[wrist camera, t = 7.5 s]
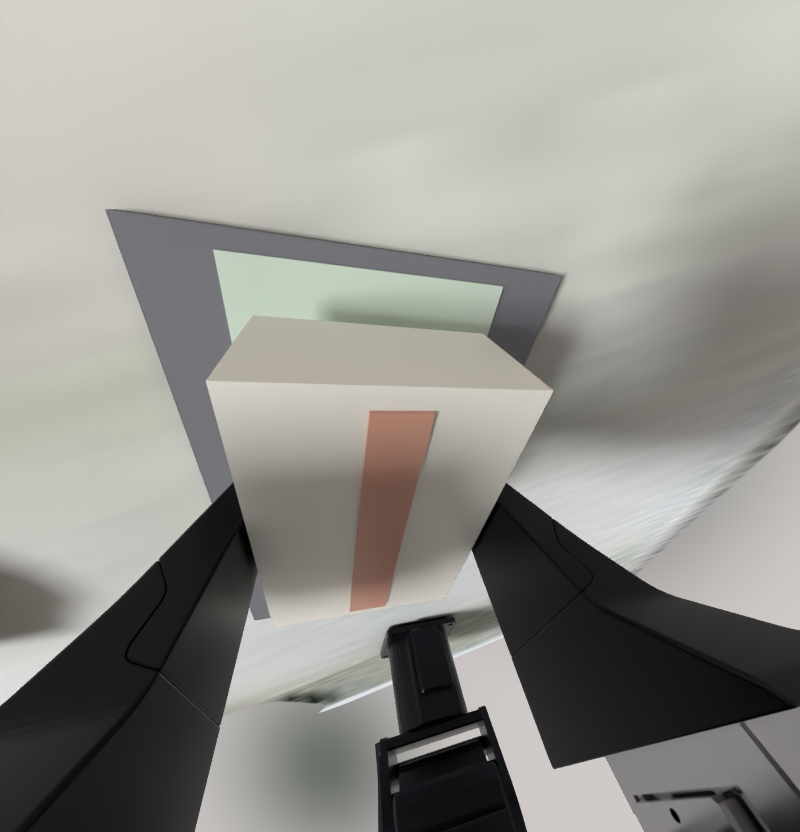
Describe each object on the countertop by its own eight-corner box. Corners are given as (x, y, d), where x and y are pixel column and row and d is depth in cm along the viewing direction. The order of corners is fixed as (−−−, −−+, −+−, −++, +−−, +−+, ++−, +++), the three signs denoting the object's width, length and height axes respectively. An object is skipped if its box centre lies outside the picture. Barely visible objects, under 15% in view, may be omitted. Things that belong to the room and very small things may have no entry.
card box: (482, 333, 8) (557, 392, 5) (423, 523, 13) (447, 601, 11) (252, 314, 7) (203, 384, 4) (285, 536, 12) (273, 631, 9)
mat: (425, 586, 22) (427, 593, 21) (255, 613, 19) (254, 622, 18) (553, 274, 9) (563, 276, 9) (115, 209, 6) (102, 209, 6)
